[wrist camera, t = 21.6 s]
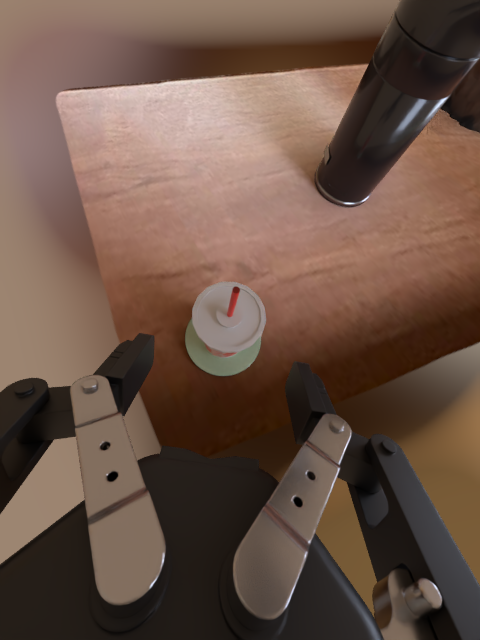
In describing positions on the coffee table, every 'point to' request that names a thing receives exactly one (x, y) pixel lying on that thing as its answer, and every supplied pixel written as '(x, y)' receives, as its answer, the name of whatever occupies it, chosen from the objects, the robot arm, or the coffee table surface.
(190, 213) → the coffee table surface
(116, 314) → the coffee table surface
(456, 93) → the owl
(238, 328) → the beverage cup
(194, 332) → the coaster
